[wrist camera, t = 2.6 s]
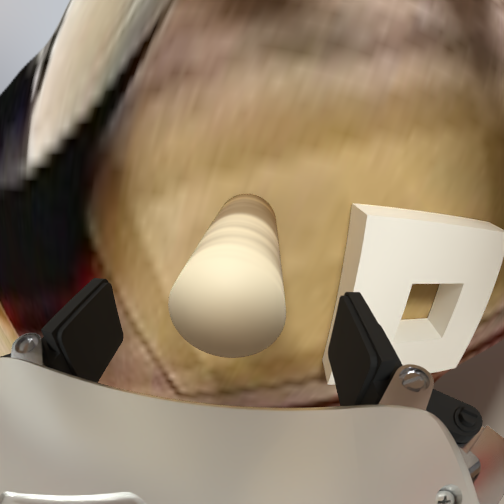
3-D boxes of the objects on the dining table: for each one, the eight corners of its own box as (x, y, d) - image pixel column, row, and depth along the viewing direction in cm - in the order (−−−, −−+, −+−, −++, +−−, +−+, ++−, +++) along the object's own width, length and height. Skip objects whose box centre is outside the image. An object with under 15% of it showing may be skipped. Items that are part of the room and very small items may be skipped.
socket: (352, 203, 20) (367, 215, 17) (488, 221, 19) (509, 233, 16) (322, 359, 26) (327, 384, 23) (443, 349, 26) (455, 367, 22)
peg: (218, 193, 20) (161, 257, 9) (277, 195, 20) (291, 263, 9) (218, 247, 22) (176, 352, 11) (274, 250, 22) (280, 360, 11)
